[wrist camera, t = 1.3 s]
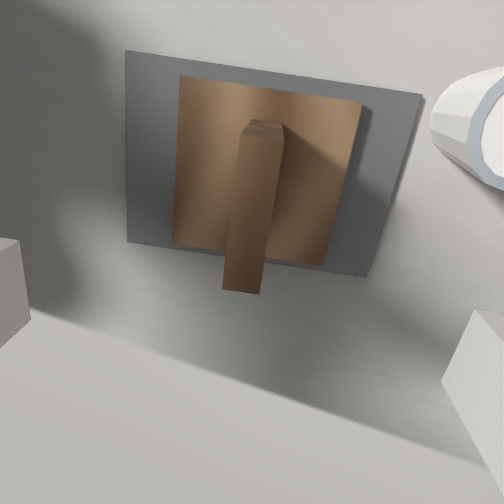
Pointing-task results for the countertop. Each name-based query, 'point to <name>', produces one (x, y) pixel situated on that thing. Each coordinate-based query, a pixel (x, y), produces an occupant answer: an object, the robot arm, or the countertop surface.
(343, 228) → the mat
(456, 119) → the white grey-rimmed cup
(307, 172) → the board
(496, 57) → the countertop surface
